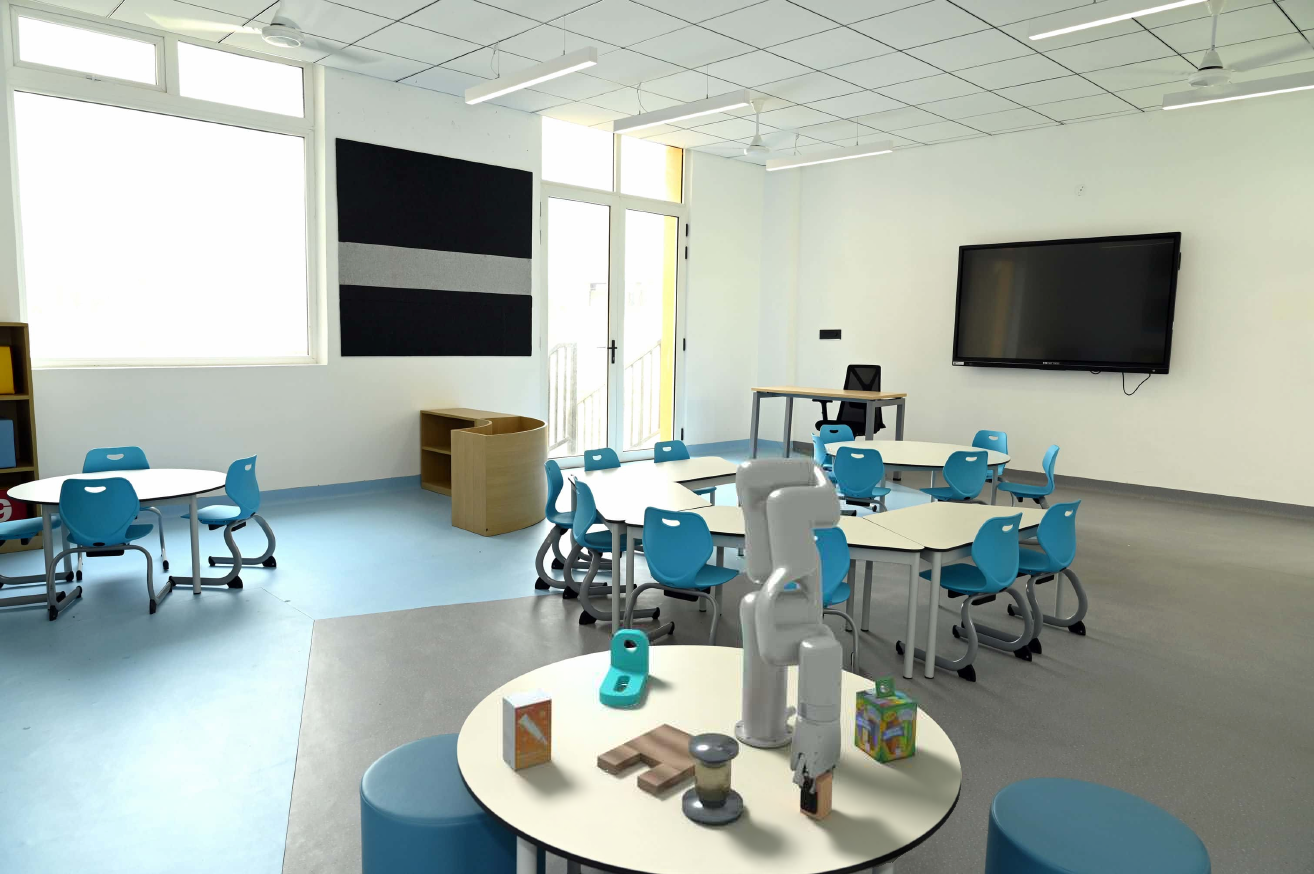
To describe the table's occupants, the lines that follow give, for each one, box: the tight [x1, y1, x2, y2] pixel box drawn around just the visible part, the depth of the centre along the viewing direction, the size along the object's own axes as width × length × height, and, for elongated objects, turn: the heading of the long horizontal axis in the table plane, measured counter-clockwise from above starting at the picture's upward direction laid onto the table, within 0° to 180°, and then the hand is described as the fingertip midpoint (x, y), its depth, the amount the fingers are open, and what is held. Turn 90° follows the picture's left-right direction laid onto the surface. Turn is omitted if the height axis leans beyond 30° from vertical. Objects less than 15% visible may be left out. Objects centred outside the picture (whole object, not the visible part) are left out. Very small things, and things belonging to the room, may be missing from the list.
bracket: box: [598, 628, 650, 707], centre depth 198 cm, size 20×9×12 cm, turn 172°
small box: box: [502, 688, 553, 771], centre depth 163 cm, size 8×6×13 cm
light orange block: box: [799, 771, 834, 821], centre depth 146 cm, size 4×4×7 cm
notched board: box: [596, 723, 696, 797], centre depth 163 cm, size 20×16×2 cm
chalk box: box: [853, 677, 918, 763], centre depth 168 cm, size 9×9×15 cm
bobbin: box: [681, 732, 744, 827], centre depth 146 cm, size 11×11×12 cm
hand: (815, 804), depth 146 cm, fingers closed on light orange block, 4 cm apart
